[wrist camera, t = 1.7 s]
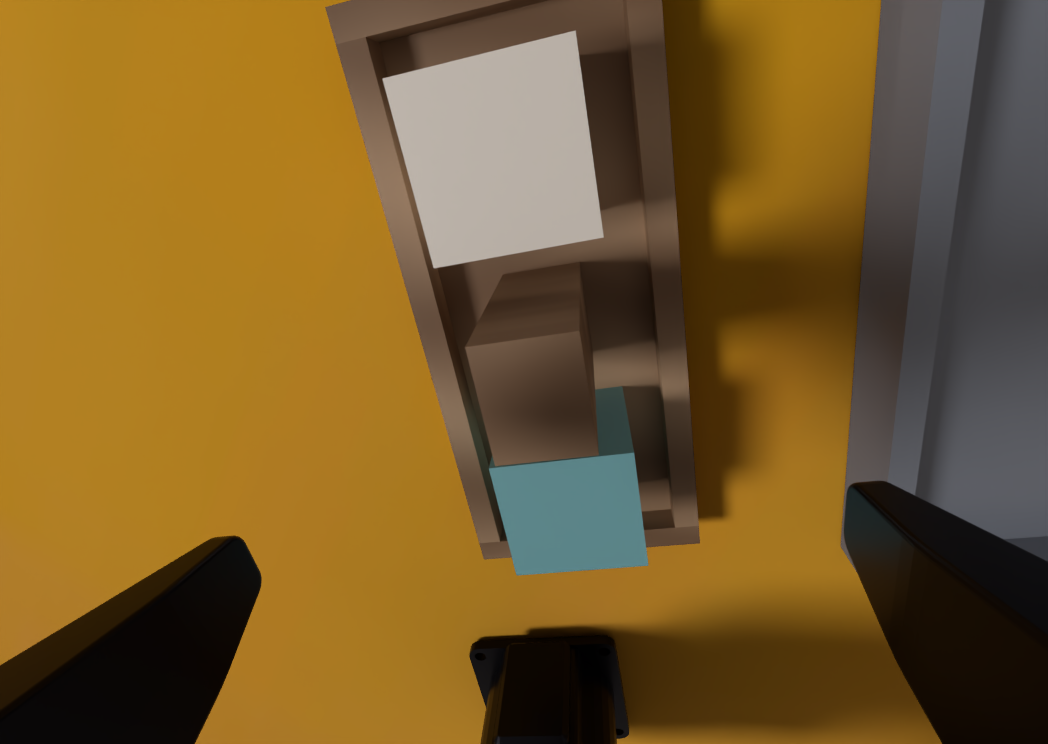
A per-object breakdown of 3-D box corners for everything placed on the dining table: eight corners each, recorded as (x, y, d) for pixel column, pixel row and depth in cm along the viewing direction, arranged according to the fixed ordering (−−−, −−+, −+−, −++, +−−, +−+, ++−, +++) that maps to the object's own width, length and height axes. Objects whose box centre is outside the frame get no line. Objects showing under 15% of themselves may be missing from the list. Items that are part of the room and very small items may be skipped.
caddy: (689, 506, 21) (737, 674, 14) (491, 523, 22) (456, 684, 16) (646, -54, 13) (704, -213, 7) (356, 21, 15) (189, -57, 8)
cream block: (597, 211, 15) (603, 237, 12) (466, 236, 16) (433, 268, 12) (576, 56, 14) (575, 30, 10) (431, 90, 14) (381, 78, 11)
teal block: (634, 483, 19) (648, 565, 16) (527, 493, 20) (516, 575, 16) (622, 386, 18) (634, 452, 14) (506, 400, 18) (488, 468, 15)
